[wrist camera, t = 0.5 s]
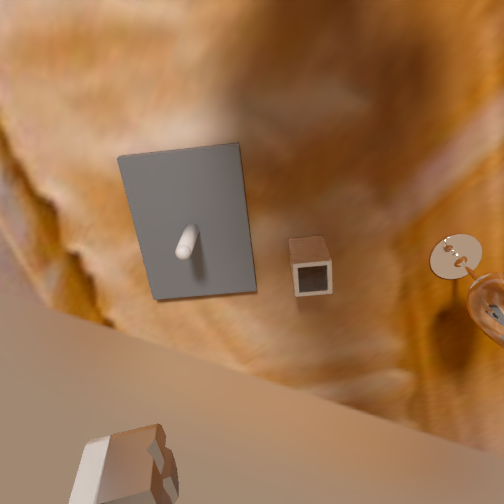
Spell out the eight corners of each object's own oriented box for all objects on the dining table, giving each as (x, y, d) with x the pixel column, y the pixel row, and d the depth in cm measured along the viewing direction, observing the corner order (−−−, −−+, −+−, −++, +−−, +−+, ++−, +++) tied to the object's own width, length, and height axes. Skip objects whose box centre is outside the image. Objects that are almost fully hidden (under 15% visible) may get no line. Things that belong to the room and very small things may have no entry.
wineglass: (420, 274, 61) (488, 365, 43) (440, 227, 58) (524, 305, 40) (468, 283, 62) (555, 376, 44) (491, 237, 58) (596, 318, 40)
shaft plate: (120, 155, 54) (93, 175, 45) (238, 142, 53) (235, 159, 44) (155, 294, 63) (139, 332, 54) (256, 285, 62) (256, 323, 53)
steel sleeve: (288, 238, 59) (292, 264, 51) (322, 235, 58) (331, 260, 51) (290, 268, 61) (295, 296, 54) (323, 265, 60) (332, 293, 53)
